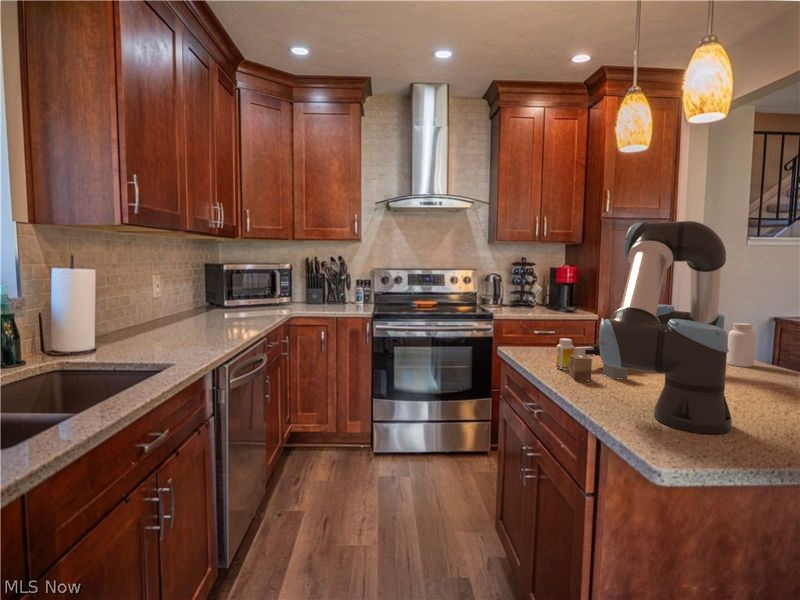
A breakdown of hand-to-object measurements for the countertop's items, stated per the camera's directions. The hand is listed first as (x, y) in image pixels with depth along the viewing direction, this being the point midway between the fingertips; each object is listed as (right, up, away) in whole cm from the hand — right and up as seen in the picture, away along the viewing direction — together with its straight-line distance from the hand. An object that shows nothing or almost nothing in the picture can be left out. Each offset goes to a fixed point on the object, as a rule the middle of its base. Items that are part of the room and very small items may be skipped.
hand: (575, 351), depth 157 cm
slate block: (+8, -7, -11) cm, 15 cm away
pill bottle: (+63, -6, +9) cm, 63 cm away
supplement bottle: (-4, -6, 0) cm, 7 cm away
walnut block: (-4, -7, -13) cm, 15 cm away
